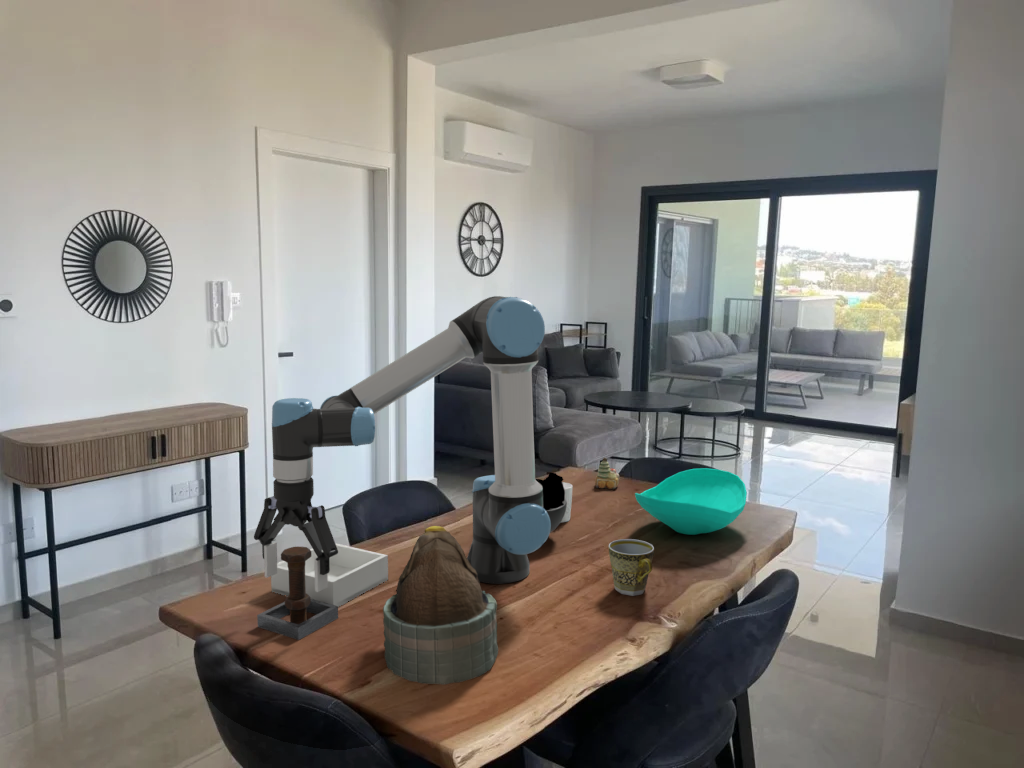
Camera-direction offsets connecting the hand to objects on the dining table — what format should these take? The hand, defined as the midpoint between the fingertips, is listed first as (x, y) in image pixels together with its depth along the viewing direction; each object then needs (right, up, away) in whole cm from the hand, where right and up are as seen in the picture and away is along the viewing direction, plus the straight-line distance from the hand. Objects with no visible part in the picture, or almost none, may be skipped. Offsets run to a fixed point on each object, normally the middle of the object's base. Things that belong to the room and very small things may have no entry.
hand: (295, 582), depth 152 cm
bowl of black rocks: (+48, -2, +52) cm, 71 cm away
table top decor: (+92, -1, +59) cm, 109 cm away
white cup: (+56, 0, +68) cm, 88 cm away
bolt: (0, -9, +1) cm, 9 cm away
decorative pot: (+30, -10, -9) cm, 33 cm away
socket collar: (0, -8, +1) cm, 9 cm away
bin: (+2, -6, +19) cm, 20 cm away
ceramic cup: (+70, -7, +17) cm, 72 cm away
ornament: (+75, +5, +102) cm, 126 cm away
